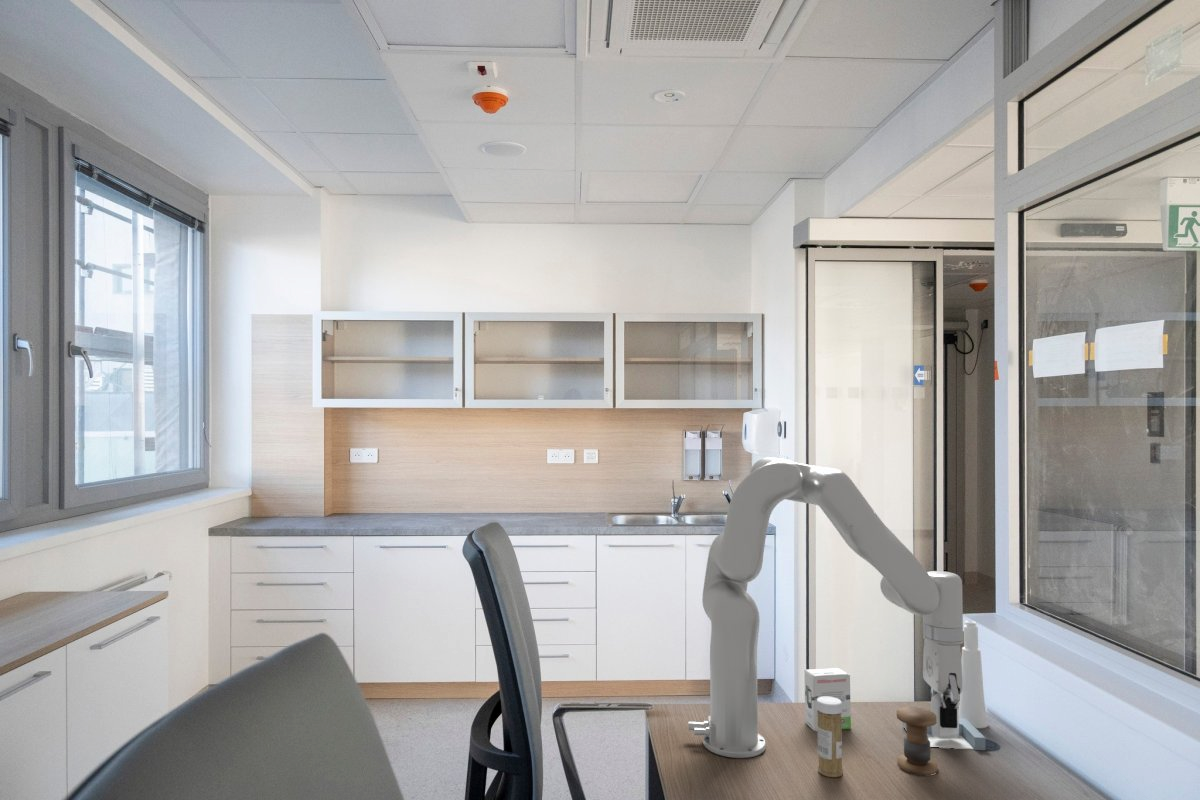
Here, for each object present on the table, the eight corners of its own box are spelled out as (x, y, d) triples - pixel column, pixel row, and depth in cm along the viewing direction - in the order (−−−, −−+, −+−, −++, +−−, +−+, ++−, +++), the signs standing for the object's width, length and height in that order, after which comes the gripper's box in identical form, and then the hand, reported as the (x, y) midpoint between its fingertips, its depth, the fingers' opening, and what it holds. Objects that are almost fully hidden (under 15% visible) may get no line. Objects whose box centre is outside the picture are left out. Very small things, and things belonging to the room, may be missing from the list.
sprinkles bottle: (847, 776, 134) (846, 703, 134) (825, 779, 132) (824, 705, 133) (834, 765, 138) (833, 694, 139) (812, 768, 137) (812, 696, 138)
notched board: (918, 747, 146) (917, 734, 146) (902, 727, 156) (902, 715, 156) (985, 750, 145) (985, 737, 145) (965, 729, 155) (965, 718, 155)
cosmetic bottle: (961, 727, 156) (959, 624, 157) (954, 716, 162) (952, 617, 163) (992, 729, 155) (989, 626, 156) (983, 718, 160) (981, 619, 161)
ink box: (840, 720, 160) (839, 666, 160) (851, 729, 155) (851, 673, 155) (804, 722, 158) (803, 668, 159) (814, 732, 154) (813, 675, 154)
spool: (904, 774, 134) (903, 720, 135) (892, 758, 141) (892, 706, 142) (943, 776, 134) (942, 721, 134) (930, 759, 140) (929, 707, 141)
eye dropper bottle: (963, 740, 146) (961, 679, 147) (934, 738, 147) (932, 678, 148) (956, 732, 150) (954, 673, 151) (927, 731, 151) (926, 672, 152)
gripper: (911, 621, 158) (912, 706, 157) (938, 643, 142) (939, 738, 141) (946, 622, 158) (948, 708, 157) (978, 645, 141) (980, 740, 140)
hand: (944, 721), depth 149 cm, fingers closed on eye dropper bottle, 4 cm apart
